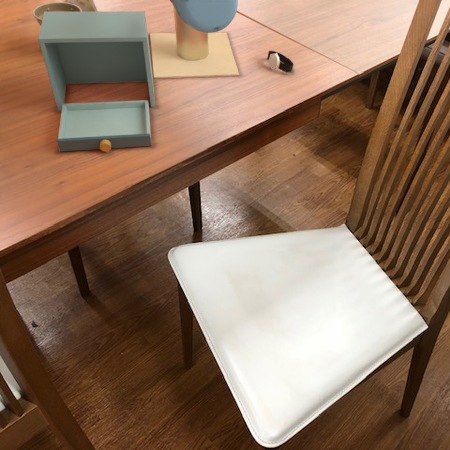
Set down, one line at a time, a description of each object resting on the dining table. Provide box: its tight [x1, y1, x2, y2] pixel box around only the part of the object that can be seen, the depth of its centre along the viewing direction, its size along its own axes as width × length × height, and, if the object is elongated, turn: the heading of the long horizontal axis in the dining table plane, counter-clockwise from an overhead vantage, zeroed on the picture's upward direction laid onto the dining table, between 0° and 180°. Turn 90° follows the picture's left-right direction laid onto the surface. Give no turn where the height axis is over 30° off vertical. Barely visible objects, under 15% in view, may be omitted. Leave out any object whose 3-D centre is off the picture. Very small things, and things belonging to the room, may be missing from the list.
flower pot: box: [32, 1, 82, 26], centre depth 108 cm, size 9×9×9 cm
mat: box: [149, 31, 240, 80], centre depth 115 cm, size 20×18×1 cm
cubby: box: [37, 10, 156, 112], centre depth 95 cm, size 11×18×14 cm, turn 104°
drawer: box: [56, 99, 152, 153], centre depth 91 cm, size 13×15×2 cm
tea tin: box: [172, 4, 209, 60], centre depth 110 cm, size 7×7×12 cm
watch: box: [266, 50, 294, 73], centre depth 114 cm, size 8×5×4 cm, turn 36°
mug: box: [63, 0, 99, 12], centre depth 119 cm, size 8×10×10 cm
